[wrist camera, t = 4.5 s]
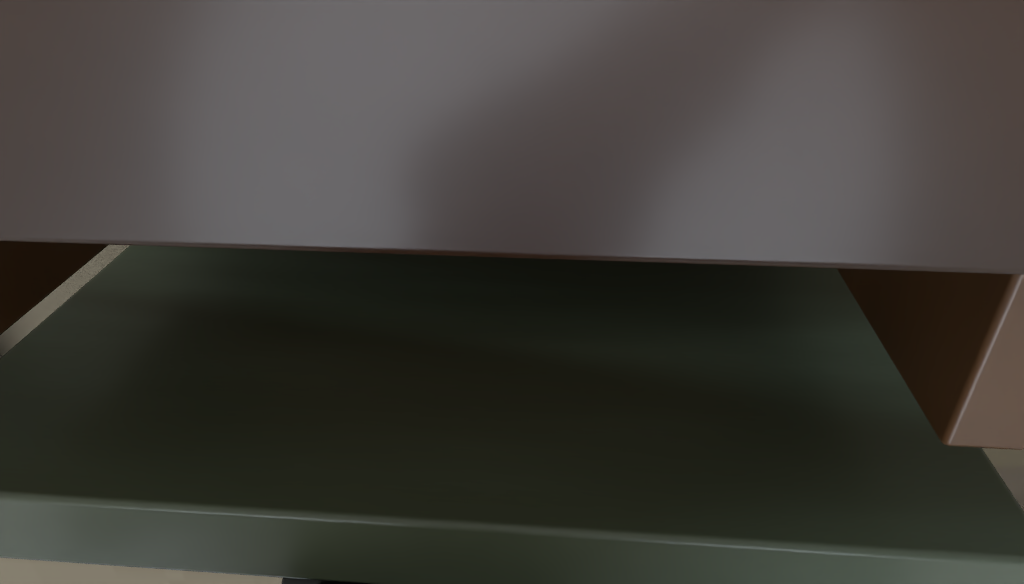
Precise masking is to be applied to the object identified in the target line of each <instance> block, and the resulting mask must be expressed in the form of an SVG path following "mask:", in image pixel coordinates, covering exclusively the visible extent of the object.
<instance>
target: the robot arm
mask: <svg viewBox="0 0 1024 584" xmlns="http://www.w3.org/2000/svg"><path fill="white" fill-rule="evenodd" d="M317 584H367V583H353V582H339V581H325V580H320V581H319V582H318V583H317Z"/></svg>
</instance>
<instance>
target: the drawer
mask: <svg viewBox="0 0 1024 584" xmlns="http://www.w3.org/2000/svg"><path fill="white" fill-rule="evenodd" d="M108 245H109V244H81V243H50V242H20V241H0V335H1V334H2V333H3V332H4V331H5V330H7V329H8V328H9V327H10V326H11V325H13V324H14V323H15V322H16V321H17V320H19V319H20V318H21V317H22V316H23V315H25V314H26V313H27V312H28V311H29V310H31V309H32V308H33V307H34V306H36V305H37V304H38V303H39V302H40V301H42V300H43V299H44V298H45V297H46V296H48V295H49V294H50V293H51V292H52V291H54V290H55V289H56V288H57V287H58V286H60V285H61V284H62V283H63V282H64V281H66V280H67V279H68V278H69V277H70V276H72V275H73V274H74V273H75V272H76V271H78V270H79V269H80V268H81V267H82V266H84V265H85V264H86V263H87V262H88V261H90V260H91V259H92V258H93V257H94V256H96V255H97V254H98V253H99V252H100V251H102V250H103V249H104V248H105V247H106V246H108ZM982 448H997V449H1016V450H1022V449H1024V275H1020V274H990V273H960V272H929V271H899V270H869V269H839V268H808V267H778V266H748V265H717V264H687V263H657V262H626V261H596V260H566V259H535V258H505V257H475V256H445V255H414V254H384V253H354V252H323V251H293V250H263V249H232V248H202V247H172V246H141V245H130V246H129V247H128V248H127V249H125V250H124V251H123V252H122V253H121V254H120V255H118V256H117V257H116V258H115V259H114V260H113V261H112V262H110V263H109V264H108V265H107V266H106V267H105V268H104V269H102V270H101V271H100V272H99V273H98V274H97V275H96V276H94V277H93V278H92V279H91V280H90V281H89V282H88V283H86V284H85V285H84V286H83V287H82V288H81V289H79V290H78V291H77V292H76V293H75V294H74V295H73V296H71V297H70V298H69V299H68V300H67V301H66V302H65V303H63V304H62V305H61V306H60V307H59V308H58V309H57V310H55V311H54V312H53V313H52V314H51V315H50V316H49V317H47V318H46V319H45V320H44V321H43V322H42V323H40V324H39V325H38V326H37V327H36V328H35V329H34V330H32V331H31V332H30V333H29V334H28V335H27V336H26V337H24V338H23V339H22V340H21V341H20V342H19V343H18V344H16V345H15V346H14V347H13V348H12V349H11V350H10V351H8V352H7V353H6V354H5V355H4V356H3V357H1V358H0V557H1V558H15V559H29V560H43V561H57V562H71V563H85V564H99V565H113V566H128V567H142V568H156V569H170V570H184V571H198V572H212V573H226V574H240V575H254V576H268V577H283V579H282V584H317V583H318V582H319V581H320V580H325V581H339V582H353V583H367V584H1024V511H1023V510H1022V508H1021V507H1020V505H1019V504H1018V502H1017V501H1016V499H1015V498H1014V496H1013V495H1012V493H1011V492H1010V490H1009V489H1008V487H1007V486H1006V484H1005V482H1004V481H1003V479H1002V478H1001V476H1000V475H999V473H998V472H997V470H996V469H995V467H994V466H993V464H992V463H991V461H990V460H989V458H988V457H987V455H986V454H985V452H984V451H983V449H982Z"/></svg>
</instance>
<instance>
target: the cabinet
mask: <svg viewBox="0 0 1024 584" xmlns="http://www.w3.org/2000/svg"><path fill="white" fill-rule="evenodd" d="M0 241H20V242H50V243H81V244H111V245H141V246H172V247H202V248H232V249H263V250H293V251H323V252H354V253H384V254H414V255H445V256H475V257H505V258H535V259H566V260H596V261H626V262H657V263H687V264H717V265H748V266H778V267H808V268H839V269H869V270H899V271H929V272H960V273H990V274H1020V275H1024V0H0Z"/></svg>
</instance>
